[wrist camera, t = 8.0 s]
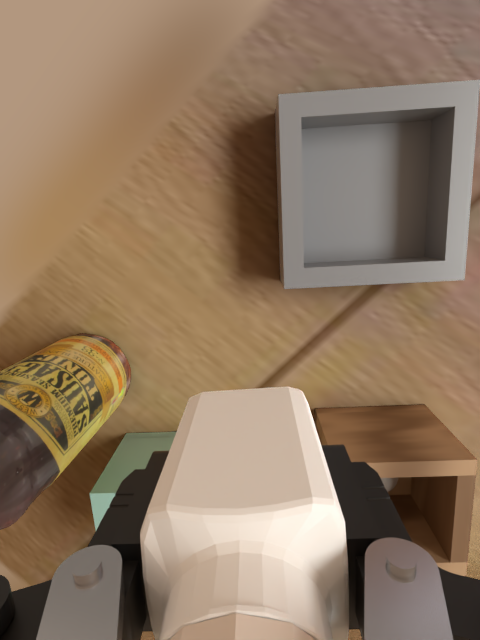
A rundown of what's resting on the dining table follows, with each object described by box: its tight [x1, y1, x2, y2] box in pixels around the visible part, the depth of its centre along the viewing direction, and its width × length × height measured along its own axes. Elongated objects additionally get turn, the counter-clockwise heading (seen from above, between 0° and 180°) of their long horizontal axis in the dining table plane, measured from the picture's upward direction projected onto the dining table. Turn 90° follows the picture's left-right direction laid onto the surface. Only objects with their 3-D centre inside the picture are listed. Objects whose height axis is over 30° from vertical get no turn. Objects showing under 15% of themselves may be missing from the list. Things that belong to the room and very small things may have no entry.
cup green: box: [90, 432, 176, 530], centre depth 28 cm, size 7×7×7 cm
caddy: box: [275, 80, 480, 289], centre depth 24 cm, size 11×11×4 cm
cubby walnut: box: [315, 404, 477, 576], centre depth 27 cm, size 8×8×7 cm
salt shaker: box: [140, 387, 349, 640], centre depth 9 cm, size 4×4×10 cm
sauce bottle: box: [0, 334, 131, 530], centre depth 19 cm, size 7×6×20 cm
